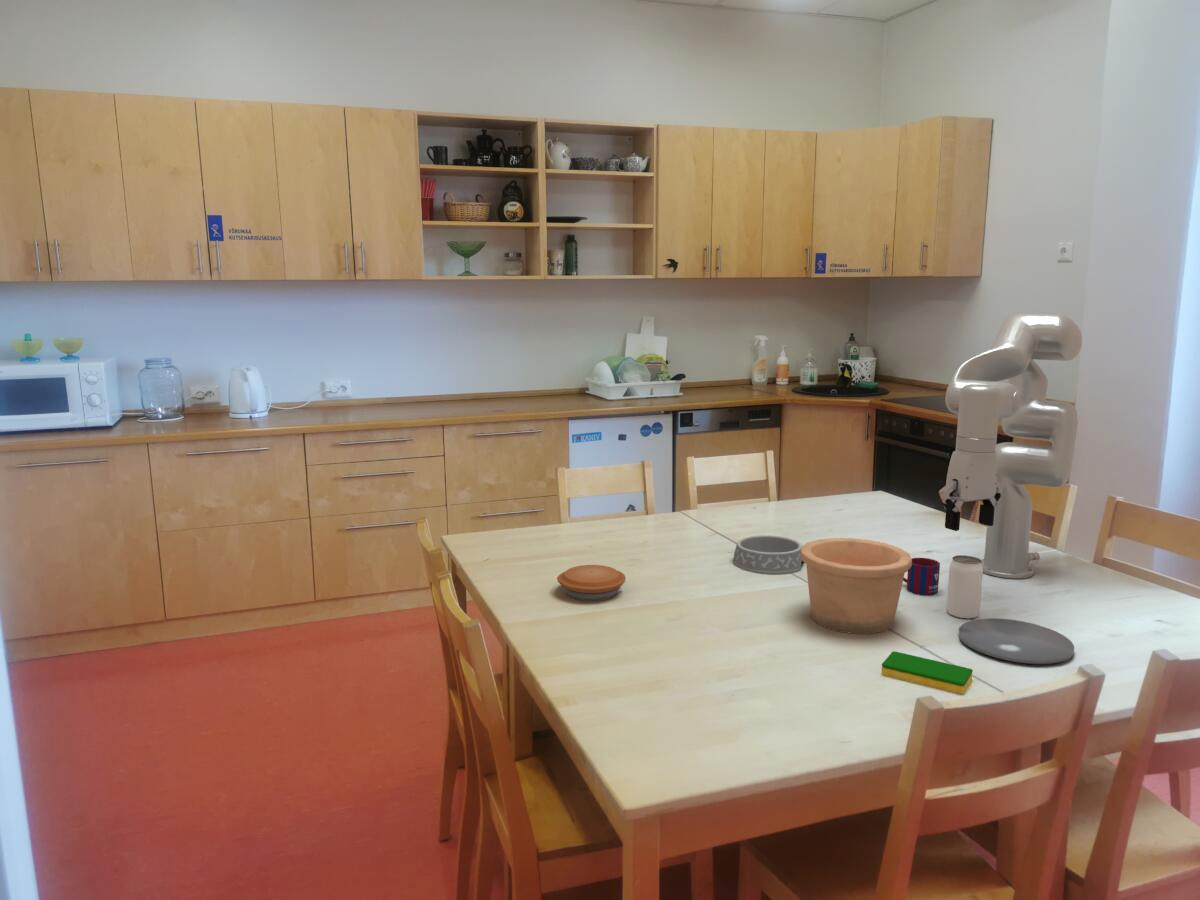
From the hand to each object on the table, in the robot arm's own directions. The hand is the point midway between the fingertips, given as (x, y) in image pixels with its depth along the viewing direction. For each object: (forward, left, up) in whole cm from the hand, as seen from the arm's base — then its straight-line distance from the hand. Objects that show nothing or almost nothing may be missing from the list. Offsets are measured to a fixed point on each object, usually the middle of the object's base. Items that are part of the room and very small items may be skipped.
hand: (968, 526), depth 177 cm
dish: (+4, +16, -19) cm, 25 cm away
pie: (+65, -46, -19) cm, 82 cm away
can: (0, 0, -19) cm, 19 cm away
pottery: (+23, -8, -19) cm, 31 cm away
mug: (-3, -16, -19) cm, 25 cm away
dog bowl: (+16, -46, -20) cm, 53 cm away
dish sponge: (+30, +19, -20) cm, 40 cm away
